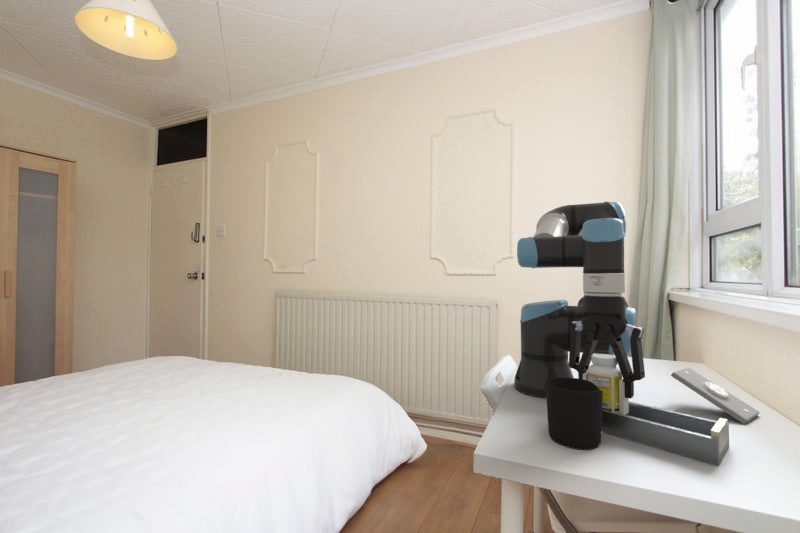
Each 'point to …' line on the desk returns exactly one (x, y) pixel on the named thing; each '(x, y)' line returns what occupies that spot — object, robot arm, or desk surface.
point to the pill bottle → (606, 379)
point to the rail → (670, 431)
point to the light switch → (716, 395)
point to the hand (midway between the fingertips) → (605, 408)
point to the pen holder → (574, 412)
